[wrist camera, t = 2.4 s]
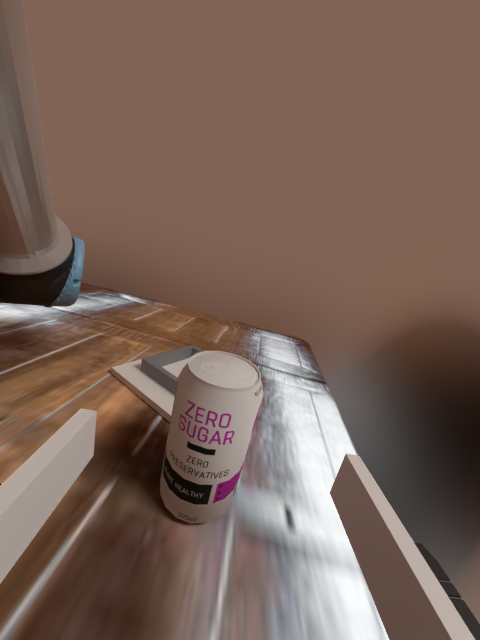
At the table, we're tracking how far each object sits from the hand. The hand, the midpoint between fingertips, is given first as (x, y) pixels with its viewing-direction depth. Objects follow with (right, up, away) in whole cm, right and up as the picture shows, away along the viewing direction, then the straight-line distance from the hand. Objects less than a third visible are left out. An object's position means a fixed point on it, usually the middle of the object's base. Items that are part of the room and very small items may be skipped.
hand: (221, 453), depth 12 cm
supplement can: (-4, -12, +14) cm, 18 cm away
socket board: (-9, -5, +33) cm, 35 cm away
